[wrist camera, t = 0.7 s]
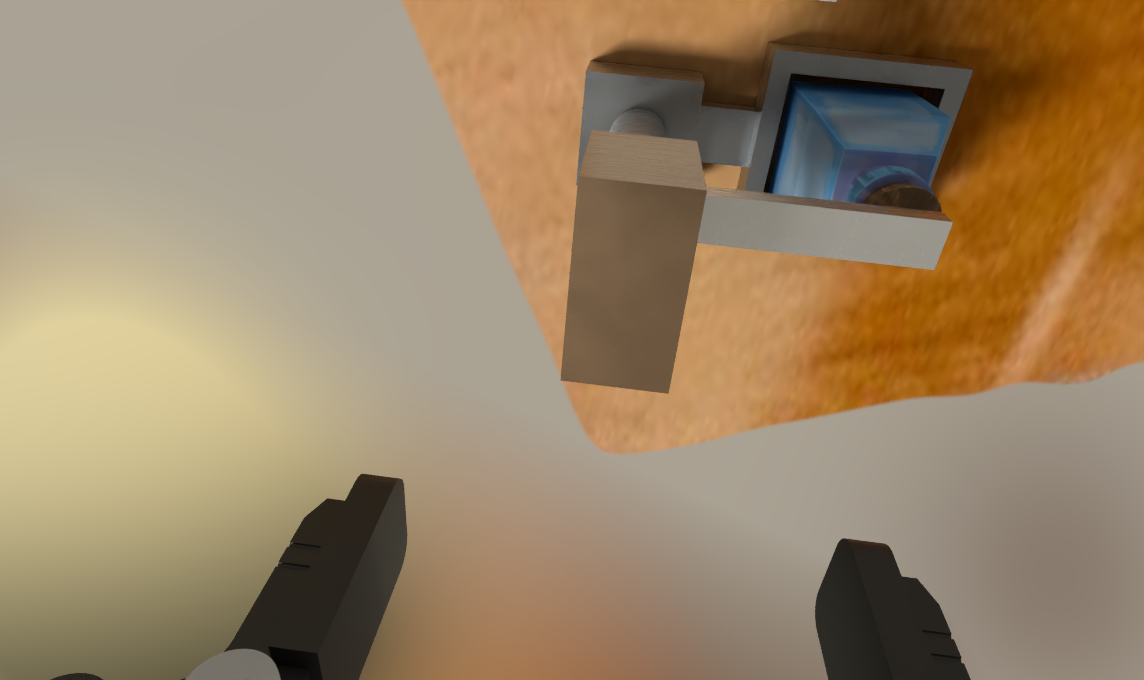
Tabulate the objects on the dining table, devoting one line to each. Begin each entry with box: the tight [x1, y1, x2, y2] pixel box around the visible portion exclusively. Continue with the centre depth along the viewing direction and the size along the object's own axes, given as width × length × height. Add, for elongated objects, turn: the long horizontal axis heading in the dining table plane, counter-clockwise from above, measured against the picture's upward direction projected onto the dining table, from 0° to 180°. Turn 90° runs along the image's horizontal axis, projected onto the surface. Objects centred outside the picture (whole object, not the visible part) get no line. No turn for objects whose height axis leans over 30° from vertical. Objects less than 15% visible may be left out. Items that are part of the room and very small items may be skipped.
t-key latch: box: [561, 109, 953, 393], centre depth 28 cm, size 14×7×18 cm, turn 86°
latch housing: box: [576, 42, 973, 193], centre depth 37 cm, size 19×10×3 cm, turn 86°
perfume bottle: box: [768, 81, 951, 212], centre depth 33 cm, size 6×6×12 cm
